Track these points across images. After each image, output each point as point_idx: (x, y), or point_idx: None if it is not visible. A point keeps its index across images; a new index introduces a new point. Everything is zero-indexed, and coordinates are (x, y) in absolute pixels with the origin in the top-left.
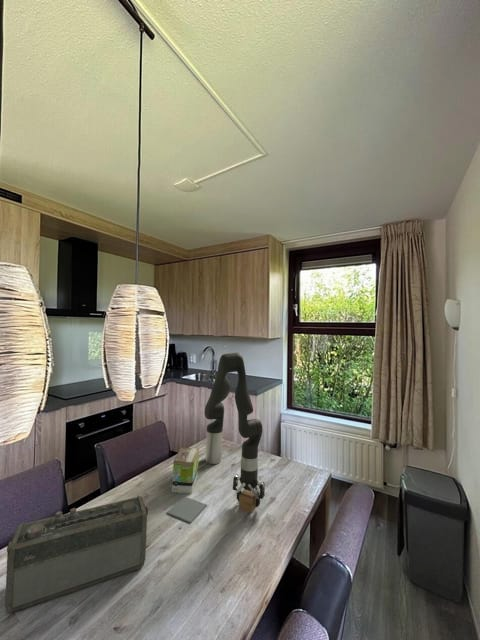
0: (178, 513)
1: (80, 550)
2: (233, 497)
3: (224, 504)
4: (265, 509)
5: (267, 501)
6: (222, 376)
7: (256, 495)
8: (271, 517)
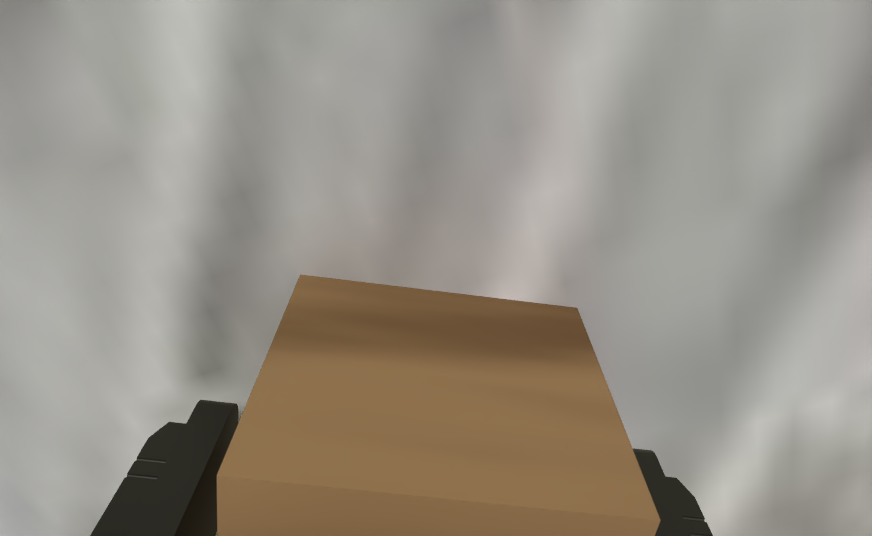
0: None
1: None
2: (35, 245)
3: (15, 470)
4: (757, 362)
5: (804, 111)
6: None
7: None
8: (859, 494)
